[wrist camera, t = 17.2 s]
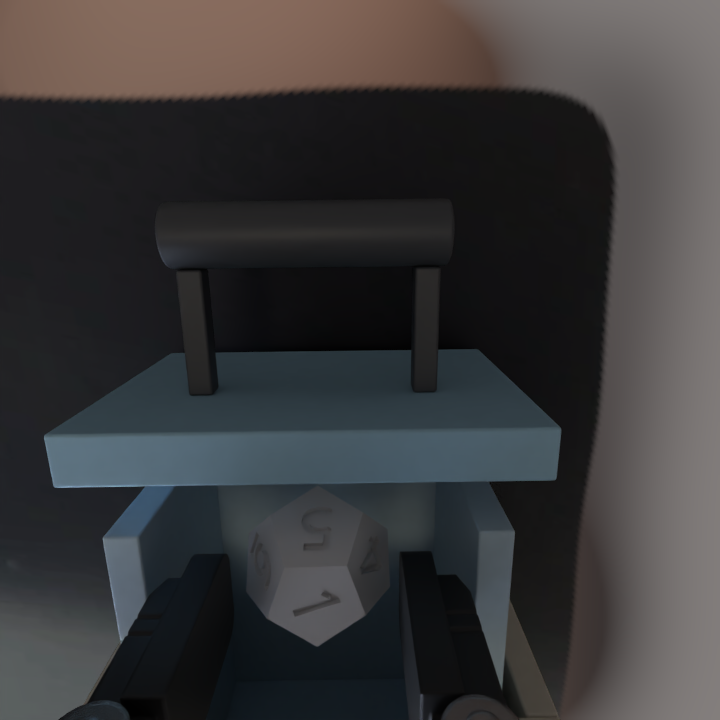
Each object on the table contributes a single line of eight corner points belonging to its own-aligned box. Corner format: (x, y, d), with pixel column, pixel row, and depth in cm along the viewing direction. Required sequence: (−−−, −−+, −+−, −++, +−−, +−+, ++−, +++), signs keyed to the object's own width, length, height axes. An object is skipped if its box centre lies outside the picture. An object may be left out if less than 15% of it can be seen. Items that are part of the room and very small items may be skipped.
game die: (234, 492, 13) (206, 563, 10) (364, 450, 13) (372, 510, 10) (279, 595, 14) (265, 688, 11) (401, 557, 14) (418, 640, 11)
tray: (154, 211, 15) (-7, 193, 8) (485, 207, 15) (588, 186, 8) (208, 672, 20) (132, 895, 13) (461, 668, 20) (514, 888, 13)
